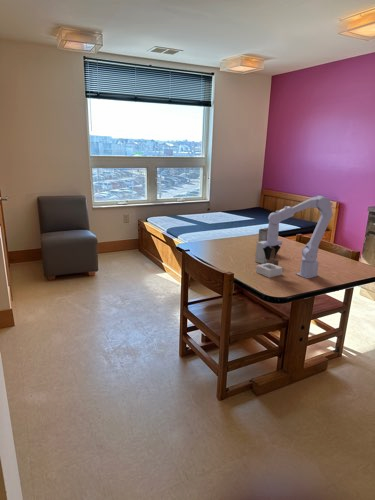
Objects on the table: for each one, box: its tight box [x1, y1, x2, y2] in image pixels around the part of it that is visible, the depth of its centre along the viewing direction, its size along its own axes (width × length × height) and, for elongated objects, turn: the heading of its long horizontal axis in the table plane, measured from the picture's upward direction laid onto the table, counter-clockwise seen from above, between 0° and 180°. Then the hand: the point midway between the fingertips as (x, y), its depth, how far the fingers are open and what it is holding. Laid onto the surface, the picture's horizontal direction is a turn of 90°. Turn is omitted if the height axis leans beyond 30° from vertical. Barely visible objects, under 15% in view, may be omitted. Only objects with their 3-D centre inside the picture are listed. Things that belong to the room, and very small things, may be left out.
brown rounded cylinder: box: [266, 248, 276, 264], centre depth 191 cm, size 4×4×8 cm
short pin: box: [272, 259, 279, 266], centre depth 204 cm, size 4×4×4 cm
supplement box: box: [254, 241, 271, 265], centre depth 211 cm, size 7×7×13 cm
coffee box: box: [257, 227, 268, 242], centre depth 232 cm, size 9×6×16 cm
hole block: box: [255, 263, 284, 279], centre depth 193 cm, size 10×10×4 cm
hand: (270, 258), depth 191 cm, fingers closed on brown rounded cylinder, 4 cm apart
